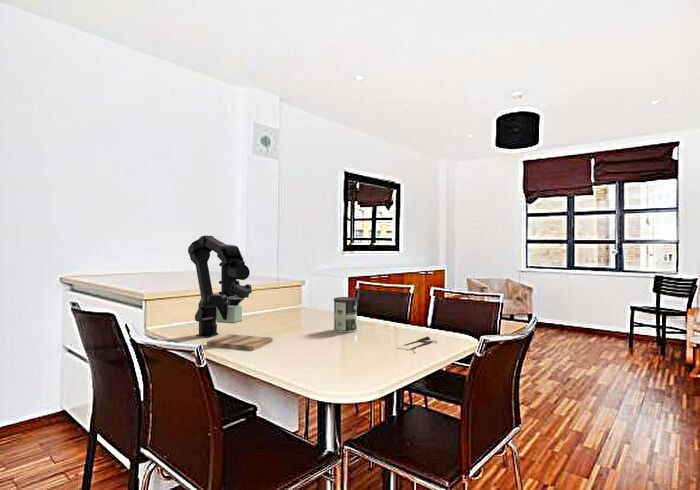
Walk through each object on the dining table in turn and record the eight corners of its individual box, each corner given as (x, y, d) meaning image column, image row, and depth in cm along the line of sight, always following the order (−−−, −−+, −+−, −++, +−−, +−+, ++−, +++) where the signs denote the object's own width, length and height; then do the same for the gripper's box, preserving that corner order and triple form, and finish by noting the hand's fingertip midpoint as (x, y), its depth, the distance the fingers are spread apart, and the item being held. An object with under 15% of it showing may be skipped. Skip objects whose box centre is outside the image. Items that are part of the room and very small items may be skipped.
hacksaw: (426, 339, 174) (426, 335, 174) (448, 344, 166) (449, 340, 166) (388, 350, 157) (388, 346, 157) (411, 355, 149) (411, 351, 149)
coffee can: (357, 327, 194) (357, 296, 193) (356, 332, 183) (357, 300, 183) (334, 327, 194) (334, 296, 194) (332, 332, 184) (332, 299, 183)
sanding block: (216, 322, 164) (216, 306, 164) (224, 319, 169) (224, 304, 169) (234, 323, 162) (234, 307, 162) (241, 321, 167) (241, 305, 167)
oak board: (206, 345, 161) (206, 341, 161) (228, 337, 174) (228, 334, 174) (253, 350, 154) (253, 346, 154) (272, 341, 168) (272, 337, 167)
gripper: (233, 281, 154) (233, 324, 154) (259, 276, 172) (259, 315, 172) (206, 280, 157) (206, 322, 158) (235, 275, 175) (235, 314, 175)
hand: (229, 318), depth 166 cm, fingers closed on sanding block, 5 cm apart
